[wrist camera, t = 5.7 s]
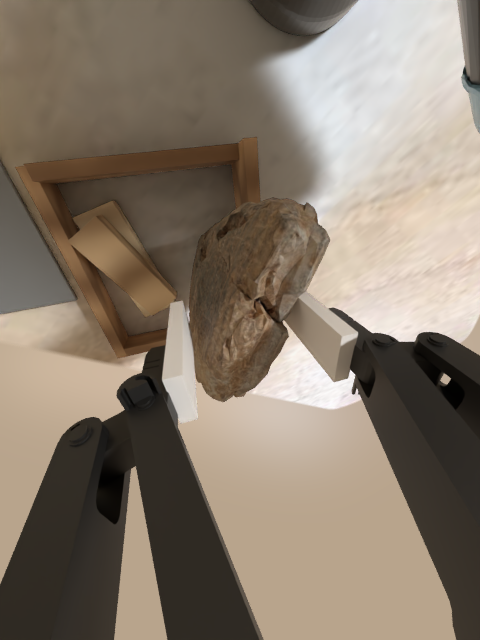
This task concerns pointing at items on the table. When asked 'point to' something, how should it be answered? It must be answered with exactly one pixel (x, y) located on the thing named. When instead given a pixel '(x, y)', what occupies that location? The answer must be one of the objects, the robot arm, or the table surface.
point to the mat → (26, 258)
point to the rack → (49, 174)
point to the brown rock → (249, 290)
